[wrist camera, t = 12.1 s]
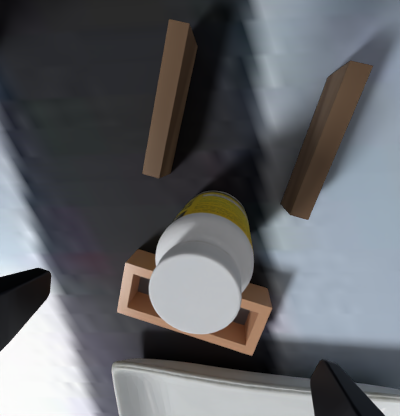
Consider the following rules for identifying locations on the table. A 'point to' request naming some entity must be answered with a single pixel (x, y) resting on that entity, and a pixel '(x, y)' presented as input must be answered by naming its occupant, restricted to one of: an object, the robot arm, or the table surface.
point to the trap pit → (227, 337)
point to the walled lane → (313, 143)
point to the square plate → (220, 391)
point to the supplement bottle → (203, 264)
